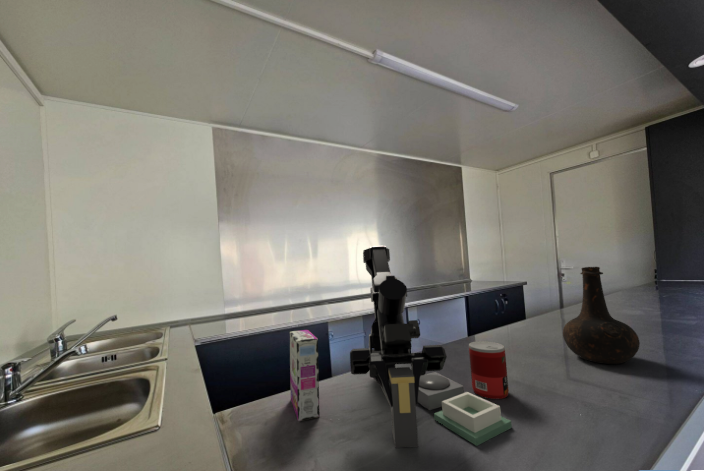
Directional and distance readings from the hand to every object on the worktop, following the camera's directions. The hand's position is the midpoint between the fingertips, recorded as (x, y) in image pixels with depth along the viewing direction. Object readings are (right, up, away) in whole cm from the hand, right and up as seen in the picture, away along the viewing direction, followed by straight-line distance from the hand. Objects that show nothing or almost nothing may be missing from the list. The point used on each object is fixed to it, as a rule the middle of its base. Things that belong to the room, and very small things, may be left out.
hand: (403, 405), depth 51 cm
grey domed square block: (+10, -8, +17) cm, 22 cm away
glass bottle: (+66, -7, +36) cm, 76 cm away
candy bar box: (-20, -9, +14) cm, 26 cm away
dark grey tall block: (0, -7, +1) cm, 7 cm away
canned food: (+24, -8, +18) cm, 31 cm away
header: (+14, -6, +5) cm, 16 cm away
